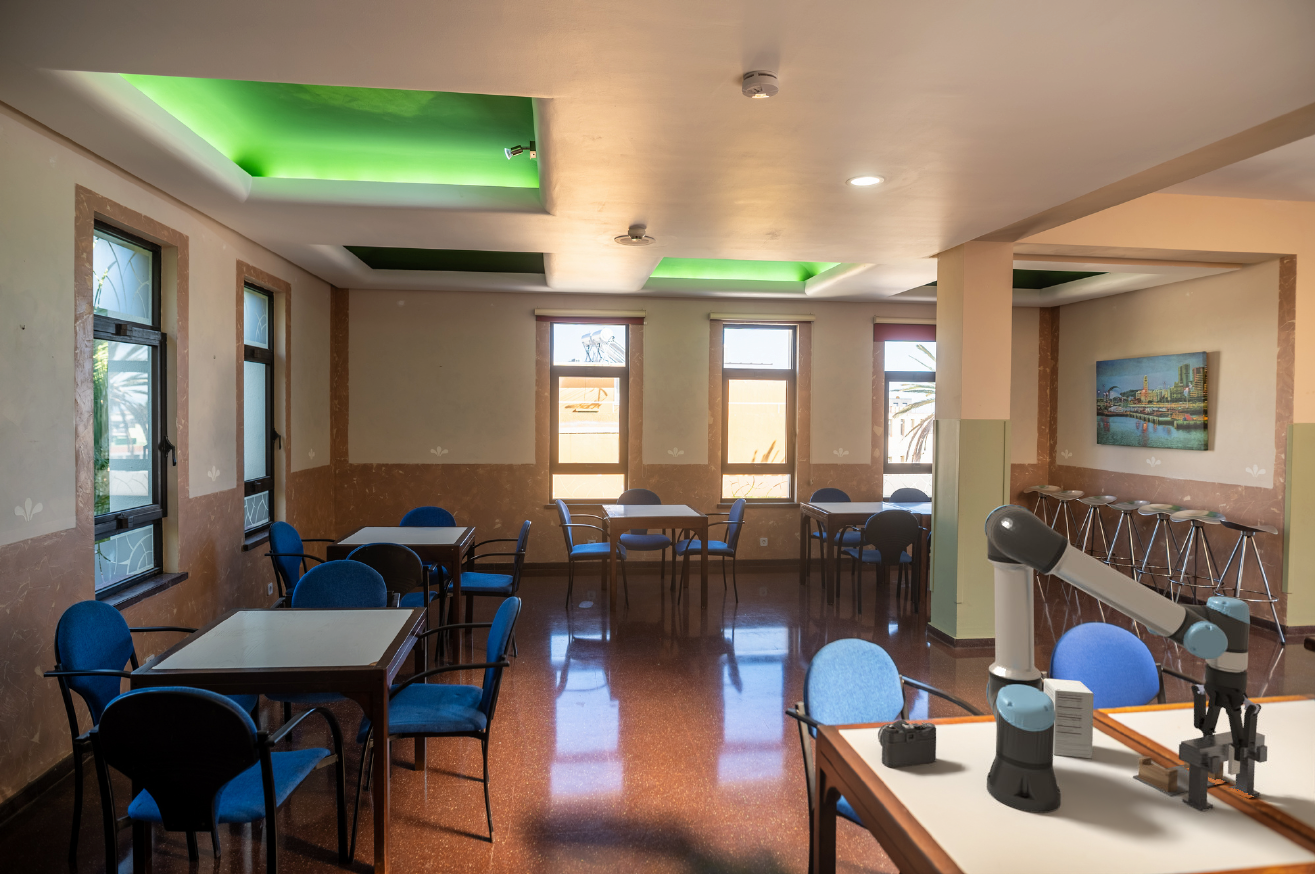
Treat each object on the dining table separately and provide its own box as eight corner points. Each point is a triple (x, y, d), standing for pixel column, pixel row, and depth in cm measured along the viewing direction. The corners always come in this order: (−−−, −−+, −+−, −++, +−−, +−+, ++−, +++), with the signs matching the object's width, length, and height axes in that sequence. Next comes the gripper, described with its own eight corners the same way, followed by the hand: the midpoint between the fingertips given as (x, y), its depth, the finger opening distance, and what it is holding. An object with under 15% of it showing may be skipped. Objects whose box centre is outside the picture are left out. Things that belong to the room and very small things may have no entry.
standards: (1208, 814, 157) (1210, 758, 156) (1174, 798, 163) (1176, 744, 163) (1267, 799, 163) (1269, 745, 163) (1233, 783, 170) (1234, 732, 170)
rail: (1199, 767, 157) (1199, 749, 157) (1180, 758, 161) (1181, 741, 161) (1264, 752, 165) (1264, 735, 165) (1244, 744, 169) (1245, 727, 169)
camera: (913, 744, 189) (914, 706, 189) (940, 763, 179) (941, 724, 178) (865, 750, 185) (866, 712, 185) (889, 770, 175) (890, 730, 174)
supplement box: (1093, 759, 182) (1095, 693, 181) (1053, 755, 184) (1055, 690, 183) (1079, 742, 191) (1080, 679, 191) (1041, 738, 193) (1043, 677, 193)
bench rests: (1170, 796, 164) (1171, 773, 164) (1132, 777, 173) (1133, 756, 172) (1228, 782, 171) (1229, 760, 171) (1189, 764, 179) (1190, 744, 179)
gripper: (1280, 677, 156) (1276, 783, 156) (1197, 653, 172) (1194, 749, 172) (1257, 681, 153) (1253, 789, 154) (1176, 656, 169) (1172, 753, 170)
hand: (1222, 767), depth 163 cm, fingers closed on rail, 4 cm apart
